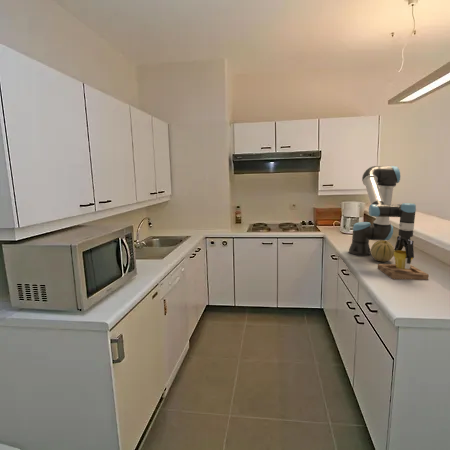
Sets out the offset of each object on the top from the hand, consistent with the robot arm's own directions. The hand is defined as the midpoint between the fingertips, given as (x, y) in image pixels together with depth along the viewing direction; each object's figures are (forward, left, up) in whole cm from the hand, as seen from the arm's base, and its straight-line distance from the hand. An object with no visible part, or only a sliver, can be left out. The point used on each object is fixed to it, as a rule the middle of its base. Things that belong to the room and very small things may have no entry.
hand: (402, 265), depth 193 cm
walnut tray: (0, 0, -5) cm, 5 cm away
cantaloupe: (-27, 0, -5) cm, 28 cm away
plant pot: (0, 0, -1) cm, 1 cm away
